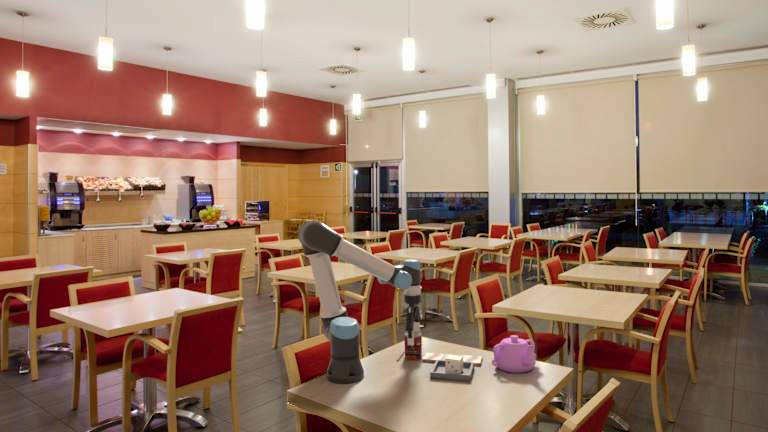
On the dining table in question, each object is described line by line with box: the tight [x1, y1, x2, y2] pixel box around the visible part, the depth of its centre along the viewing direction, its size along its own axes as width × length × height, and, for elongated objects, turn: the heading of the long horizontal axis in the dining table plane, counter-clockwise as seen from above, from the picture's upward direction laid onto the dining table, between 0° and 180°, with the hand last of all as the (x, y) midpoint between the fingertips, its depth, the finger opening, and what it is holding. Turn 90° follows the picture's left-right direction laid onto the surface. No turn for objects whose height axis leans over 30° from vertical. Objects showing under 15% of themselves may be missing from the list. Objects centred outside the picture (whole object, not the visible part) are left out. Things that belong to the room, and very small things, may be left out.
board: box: [396, 351, 483, 367], centre depth 230 cm, size 37×13×1 cm, turn 75°
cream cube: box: [445, 353, 463, 374], centre depth 212 cm, size 6×6×6 cm
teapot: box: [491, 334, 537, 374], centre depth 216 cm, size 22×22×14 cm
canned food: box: [404, 331, 423, 361], centre depth 233 cm, size 8×8×11 cm
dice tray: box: [429, 360, 475, 382], centre depth 213 cm, size 16×16×2 cm
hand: (414, 340), depth 233 cm, fingers open, 13 cm apart
